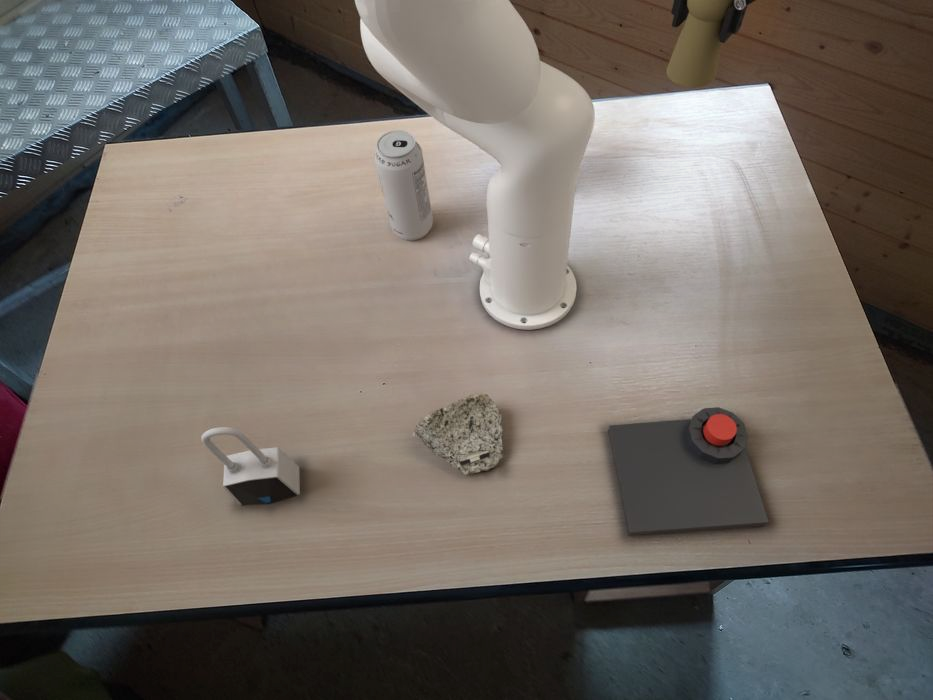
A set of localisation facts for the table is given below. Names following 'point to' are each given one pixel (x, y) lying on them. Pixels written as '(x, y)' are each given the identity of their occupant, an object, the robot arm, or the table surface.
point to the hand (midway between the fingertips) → (703, 27)
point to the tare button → (719, 430)
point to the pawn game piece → (698, 44)
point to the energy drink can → (404, 184)
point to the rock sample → (465, 433)
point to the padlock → (255, 471)
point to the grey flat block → (684, 477)
